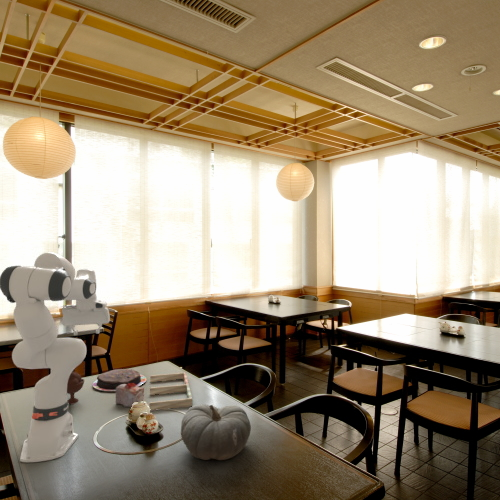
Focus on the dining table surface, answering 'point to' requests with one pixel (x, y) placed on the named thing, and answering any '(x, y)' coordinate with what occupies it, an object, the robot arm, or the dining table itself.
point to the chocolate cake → (118, 379)
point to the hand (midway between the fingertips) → (86, 334)
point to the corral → (170, 391)
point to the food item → (129, 394)
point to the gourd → (215, 431)
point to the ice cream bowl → (74, 386)
